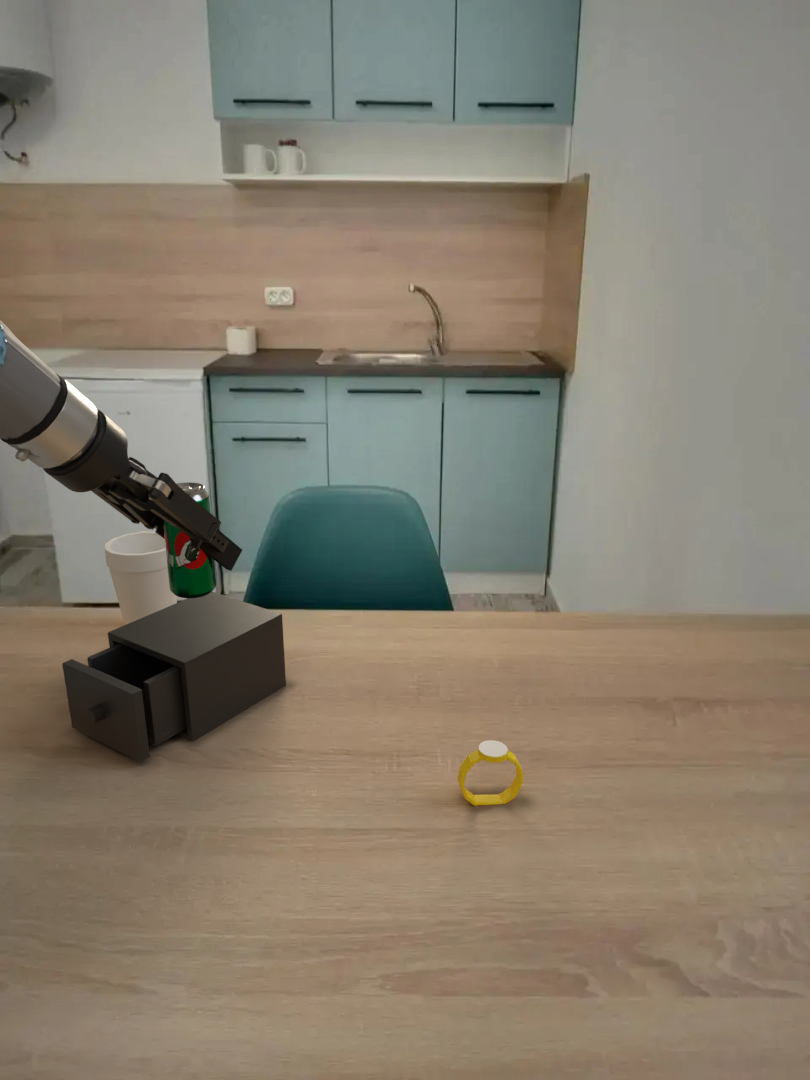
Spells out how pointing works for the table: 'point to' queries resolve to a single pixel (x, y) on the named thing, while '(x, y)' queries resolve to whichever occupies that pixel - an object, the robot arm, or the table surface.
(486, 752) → the watch
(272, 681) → the cabinet
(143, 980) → the table surface
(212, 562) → the soda can
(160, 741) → the drawer
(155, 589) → the foam cup
